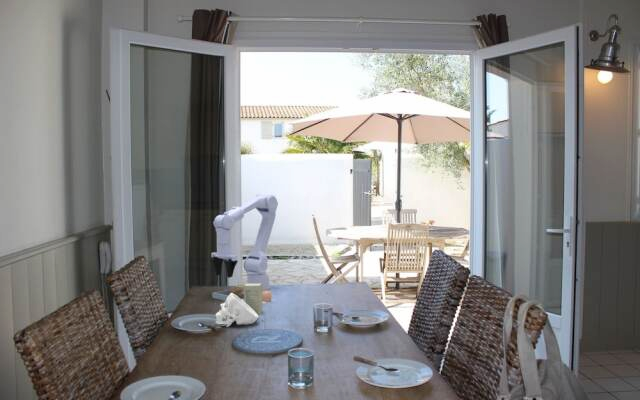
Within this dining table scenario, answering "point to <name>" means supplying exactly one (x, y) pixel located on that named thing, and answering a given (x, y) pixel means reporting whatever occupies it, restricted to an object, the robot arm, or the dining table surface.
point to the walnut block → (235, 292)
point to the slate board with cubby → (224, 294)
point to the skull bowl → (235, 312)
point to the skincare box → (254, 297)
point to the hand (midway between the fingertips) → (224, 276)
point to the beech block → (240, 287)
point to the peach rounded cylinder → (266, 296)
